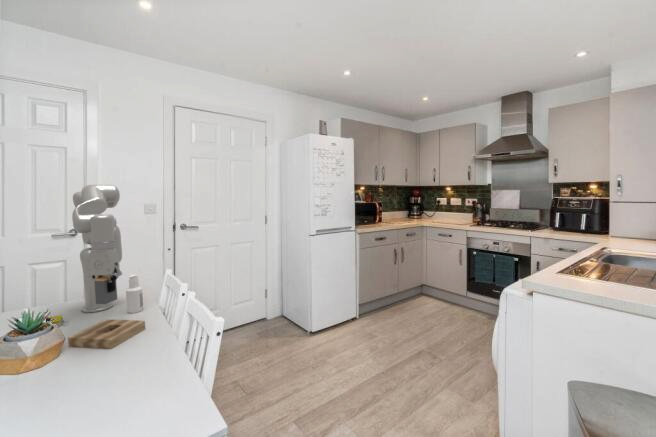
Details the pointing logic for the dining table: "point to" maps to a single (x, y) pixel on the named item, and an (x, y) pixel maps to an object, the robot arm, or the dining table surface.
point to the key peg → (104, 291)
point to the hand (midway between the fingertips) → (106, 291)
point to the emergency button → (58, 320)
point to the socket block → (106, 334)
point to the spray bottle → (134, 295)
